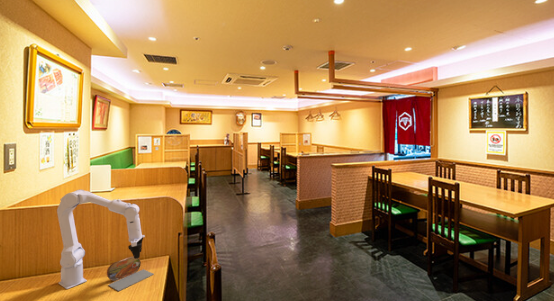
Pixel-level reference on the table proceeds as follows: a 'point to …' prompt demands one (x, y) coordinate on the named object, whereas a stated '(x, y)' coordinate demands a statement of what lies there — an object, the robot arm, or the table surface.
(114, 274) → the tin
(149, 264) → the table surface
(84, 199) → the robot arm
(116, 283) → the slate mat
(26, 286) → the table surface
